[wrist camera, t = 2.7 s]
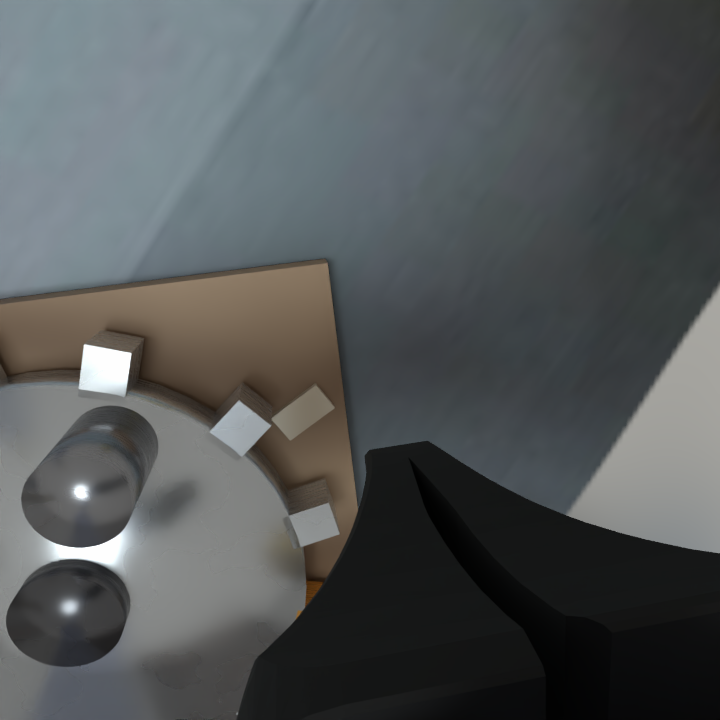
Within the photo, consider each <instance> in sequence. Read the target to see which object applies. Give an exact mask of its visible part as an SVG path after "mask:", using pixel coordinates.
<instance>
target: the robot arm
mask: <svg viewBox="0 0 720 720" xmlns="http://www.w3.org/2000/svg"><path fill="white" fill-rule="evenodd" d="M365 464H366V472H367V473H366V481H365V486H364V491H363V495H362V500H361V503H360V506H359V509H358V512H357V515H356V518H355V521H354V524H353V527H352V529H351V532H350V534H349V537H348V539H347V541H346V543H345V545H344V547H343V549H342V551H341V554H340V556H339V557H338V559H337V561H336V563H335V564H334V566H333V568H332V569H331V571H330V573H329V575H328V576H327V578H326V580H325V581H324V583H323V584H322V586H321V587H320V589H319V590H318V591H317V593H316V594H315V595H314V597H313V598H312V599H311V600H310V602H309V603H308V604H307V606H306V607H305V608H304V609H303V611H302V612H301V613H300V615H299V616H298V617H297V618H296V620H295V621H294V622H293V623H292V624H291V625H290V627H288V628H287V629H286V630H285V631H284V632H283V633H282V634H281V635H280V636H279V637H278V638H277V639H276V640H275V641H274V642H273V643H272V644H271V645H270V646H269V647H268V648H267V649H266V650H265V651H264V652H263V653H261V654H260V655H259V656H258V657H257V658H256V660H255V661H254V664H253V666H252V669H251V672H250V675H249V678H248V681H247V684H246V688H245V691H244V694H243V697H242V701H241V704H240V708H239V711H238V715H237V719H236V720H720V553H713V552H706V551H700V550H692V549H687V548H682V547H678V546H673V545H668V544H663V543H659V542H655V541H650V540H645V539H641V538H638V537H633V536H630V535H626V534H622V533H618V532H615V531H612V530H609V529H605V528H602V527H599V526H596V525H592V524H589V523H585V522H583V521H580V520H577V519H574V518H571V517H569V516H566V515H564V514H561V513H559V512H556V511H554V510H551V509H549V508H546V507H544V506H541V505H539V504H537V503H534V502H532V501H530V500H528V499H526V498H524V497H522V496H520V495H518V494H516V493H514V492H512V491H510V490H508V489H506V488H504V487H502V486H500V485H498V484H497V483H495V482H493V481H491V480H489V479H488V478H486V477H484V476H483V475H481V474H479V473H478V472H476V471H474V470H473V469H471V468H469V467H468V466H466V465H465V464H463V463H461V462H460V461H458V460H457V459H455V458H454V457H452V456H451V455H449V454H448V453H446V452H444V451H443V450H441V449H440V448H438V447H437V446H435V445H434V444H432V443H430V442H429V441H423V442H417V443H411V444H404V445H398V446H392V447H385V448H379V449H373V450H369V451H368V452H367V454H366V455H365Z"/></svg>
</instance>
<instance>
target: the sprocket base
mask: <svg viewBox="0 0 720 720" xmlns="http://www.w3.org/2000/svg"><path fill="white" fill-rule="evenodd" d="M100 330H104V331H109V332H114V333H120V334H125V335H130V336H136V337H141V338H144V343H143V349H142V356H141V363H140V370H139V377H138V379H140V380H144V381H147V382H151V383H155V384H158V385H161V386H163V387H166V388H168V389H171V390H173V391H176V392H178V393H181V394H183V395H185V396H188V397H190V398H192V399H193V400H195V401H197V402H199V403H201V404H202V405H204V406H206V407H208V408H210V409H211V410H213V411H216V410H217V409H218V408H219V407H220V406H221V405H222V404H223V402H224V401H225V400H226V399H227V398H228V397H229V396H230V395H231V394H232V393H233V392H234V391H235V390H236V388H237V387H238V386H239V385H240V384H241V383H244V384H245V385H246V386H248V387H249V388H250V389H251V390H253V391H254V392H255V393H256V394H258V395H259V396H260V397H261V398H263V399H264V400H265V401H266V402H268V403H269V404H270V405H271V406H272V423H271V427H270V428H269V429H268V430H267V431H266V432H265V433H264V434H263V435H262V436H261V437H260V438H259V439H258V440H257V441H256V443H255V445H256V446H257V447H258V448H259V449H260V450H261V451H262V453H263V454H264V455H265V456H266V458H267V459H268V460H269V461H270V463H271V464H272V465H273V466H274V468H275V469H276V471H277V473H278V474H279V476H280V478H281V479H282V481H283V483H284V484H285V486H286V488H287V489H288V490H290V489H293V488H296V487H300V486H303V485H306V484H309V483H312V482H315V481H318V480H321V479H324V478H325V480H326V483H327V486H328V488H329V491H330V494H331V497H332V500H333V503H334V505H335V509H336V515H337V520H338V526H339V532H340V534H339V535H336V536H333V537H330V538H327V539H324V540H321V541H318V542H315V543H312V544H309V545H306V546H304V558H305V573H306V581H315V582H323V583H324V581H325V580H326V578H327V576H328V575H329V573H330V571H331V569H332V568H333V566H334V564H335V563H336V561H337V559H338V557H339V556H340V554H341V551H342V549H343V547H344V545H345V543H346V541H347V539H348V537H349V534H350V532H351V529H352V527H353V524H354V521H355V518H356V515H357V512H358V506H357V498H356V489H355V481H354V473H353V465H352V457H351V449H350V441H349V433H348V424H347V416H346V408H345V400H344V392H343V384H342V376H341V368H340V359H339V351H338V343H337V335H336V327H335V319H334V311H333V303H332V294H331V286H330V278H329V270H328V263H327V261H326V259H318V260H310V261H302V262H294V263H286V264H278V265H270V266H262V267H254V268H246V269H238V270H230V271H222V272H214V273H206V274H198V275H190V276H182V277H174V278H166V279H158V280H151V281H143V282H135V283H127V284H119V285H111V286H103V287H95V288H87V289H79V290H71V291H63V292H55V293H47V294H39V295H31V296H23V297H15V298H7V299H0V364H1V366H2V368H3V370H4V372H5V374H6V376H7V377H8V376H13V375H18V374H23V373H28V372H39V371H52V370H81V365H82V357H83V348H84V344H85V343H86V342H87V341H88V340H90V339H91V338H92V337H93V336H94V335H96V334H97V333H98V332H99V331H100Z"/></svg>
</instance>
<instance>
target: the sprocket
mask: <svg viewBox="0 0 720 720" xmlns="http://www.w3.org/2000/svg"><path fill="white" fill-rule="evenodd" d="M143 343H144V338H141V337H136V336H130V335H125V334H120V333H114V332H109V331H104V330H100V331H99V332H98V333H97V334H96V335H94V336H93V337H92V338H91V339H90V340H88V341H87V342H86V343H85V344H84V348H83V357H82V365H81V370H52V371H39V372H28V373H23V374H18V375H13V376H8V377H7V376H6V374H5V372H4V370H3V368H2V366H1V364H0V720H236V719H237V715H238V711H239V708H240V704H241V701H242V697H243V694H244V691H245V688H246V684H247V681H248V678H249V675H250V672H251V669H252V666H253V664H254V661H255V660H256V658H257V657H258V656H259V655H260V654H261V653H263V652H264V651H265V650H266V649H267V648H268V647H269V646H270V645H271V644H272V643H273V642H274V641H275V640H276V639H277V638H278V637H279V636H280V635H281V634H282V633H283V632H284V631H285V630H286V629H287V628H288V627H290V625H291V624H292V623H293V622H294V621H295V620H296V618H297V617H298V616H299V615H300V613H301V612H302V611H303V609H304V608H305V607H306V606H307V604H308V603H309V602H310V600H311V599H312V598H313V597H314V595H315V594H316V593H317V591H318V590H319V589H320V587H321V586H322V584H323V582H315V581H306V573H305V558H304V546H306V545H309V544H312V543H315V542H318V541H321V540H324V539H327V538H330V537H333V536H336V535H339V534H340V532H339V526H338V520H337V515H336V509H335V505H334V503H333V500H332V497H331V494H330V491H329V488H328V486H327V483H326V480H325V478H324V479H321V480H318V481H315V482H312V483H309V484H306V485H303V486H300V487H296V488H293V489H290V490H288V489H287V488H286V486H285V484H284V483H283V481H282V479H281V478H280V476H279V474H278V473H277V471H276V469H275V468H274V466H273V465H272V464H271V463H270V461H269V460H268V459H267V458H266V456H265V455H264V454H263V453H262V451H261V450H260V449H259V448H258V447H257V446H256V445H255V443H256V441H257V440H258V439H259V438H260V437H261V436H262V435H263V434H264V433H265V432H266V431H267V430H268V429H269V428H270V427H271V423H272V406H271V405H270V404H269V403H268V402H266V401H265V400H264V399H263V398H261V397H260V396H259V395H258V394H256V393H255V392H254V391H253V390H251V389H250V388H249V387H248V386H246V385H245V384H244V383H241V384H240V385H239V386H238V387H237V388H236V390H235V391H234V392H233V393H232V394H231V395H230V396H229V397H228V398H227V399H226V400H225V401H224V402H223V404H222V405H221V406H220V407H219V408H218V409H217V410H216V411H213V410H211V409H210V408H208V407H206V406H204V405H202V404H201V403H199V402H197V401H195V400H193V399H192V398H190V397H188V396H185V395H183V394H181V393H178V392H176V391H173V390H171V389H168V388H166V387H163V386H161V385H158V384H155V383H151V382H147V381H144V380H140V379H138V377H139V370H140V363H141V356H142V349H143Z"/></svg>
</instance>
